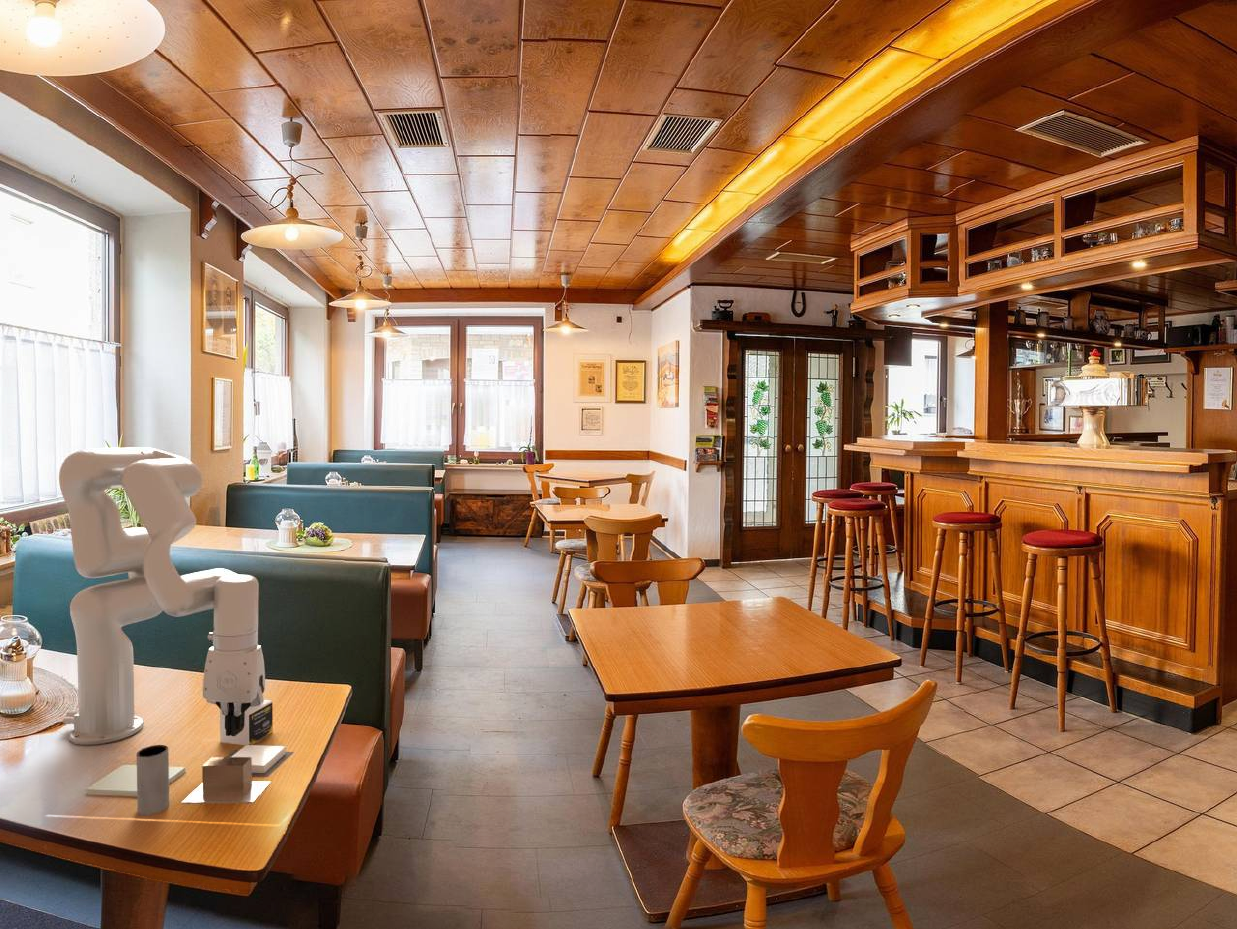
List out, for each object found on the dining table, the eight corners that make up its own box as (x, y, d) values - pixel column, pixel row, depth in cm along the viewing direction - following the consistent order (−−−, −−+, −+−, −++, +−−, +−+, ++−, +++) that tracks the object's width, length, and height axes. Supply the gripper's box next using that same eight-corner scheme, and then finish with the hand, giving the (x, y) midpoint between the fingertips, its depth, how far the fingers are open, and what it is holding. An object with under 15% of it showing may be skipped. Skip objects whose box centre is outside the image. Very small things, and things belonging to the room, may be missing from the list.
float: (182, 806, 124) (181, 771, 123) (203, 786, 131) (203, 752, 130) (253, 806, 124) (252, 770, 124) (270, 785, 131) (270, 752, 131)
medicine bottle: (249, 747, 146) (249, 689, 145) (219, 743, 147) (218, 686, 146) (273, 732, 152) (273, 677, 152) (244, 729, 154) (243, 674, 153)
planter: (147, 802, 124) (146, 744, 123) (174, 802, 124) (173, 744, 124) (131, 817, 119) (130, 757, 119) (160, 816, 120) (159, 756, 119)
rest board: (85, 795, 126) (85, 789, 126) (123, 771, 135) (123, 764, 135) (152, 798, 125) (152, 791, 125) (185, 773, 134) (185, 767, 134)
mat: (204, 775, 134) (204, 774, 134) (235, 751, 144) (235, 749, 144) (267, 778, 133) (267, 776, 133) (293, 753, 143) (293, 752, 143)
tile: (222, 763, 135) (264, 765, 134) (246, 744, 142) (285, 746, 142) (222, 772, 135) (264, 773, 134) (246, 752, 143) (285, 754, 142)
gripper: (185, 644, 134) (184, 739, 135) (263, 649, 133) (262, 744, 135) (209, 632, 141) (208, 722, 143) (284, 636, 141) (282, 727, 142)
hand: (234, 732), depth 139 cm, fingers closed
